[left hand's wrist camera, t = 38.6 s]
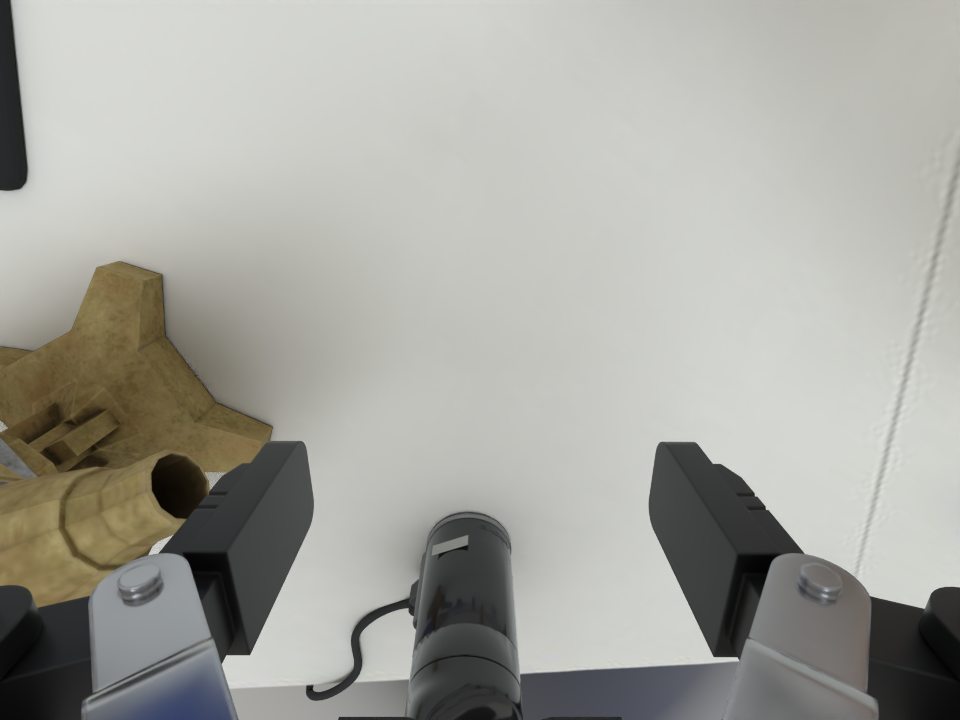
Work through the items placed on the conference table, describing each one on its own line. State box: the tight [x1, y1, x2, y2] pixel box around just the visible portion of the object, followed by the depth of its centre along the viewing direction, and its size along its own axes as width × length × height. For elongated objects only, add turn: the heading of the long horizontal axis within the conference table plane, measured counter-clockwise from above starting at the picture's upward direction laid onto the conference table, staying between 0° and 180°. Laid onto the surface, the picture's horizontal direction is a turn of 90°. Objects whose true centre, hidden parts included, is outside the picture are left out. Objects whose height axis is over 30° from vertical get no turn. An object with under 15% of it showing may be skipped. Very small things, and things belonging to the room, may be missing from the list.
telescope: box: [0, 261, 272, 608], centre depth 31 cm, size 23×40×40 cm, turn 116°
